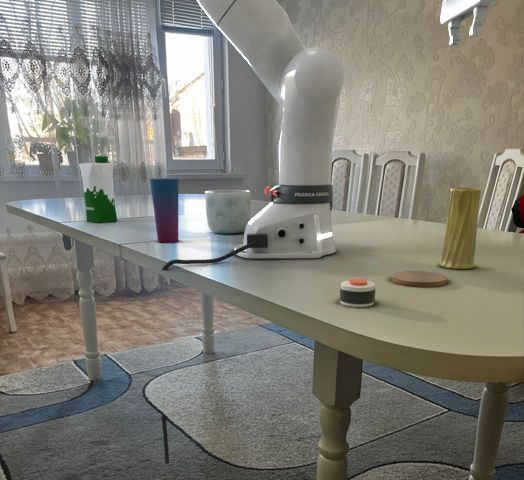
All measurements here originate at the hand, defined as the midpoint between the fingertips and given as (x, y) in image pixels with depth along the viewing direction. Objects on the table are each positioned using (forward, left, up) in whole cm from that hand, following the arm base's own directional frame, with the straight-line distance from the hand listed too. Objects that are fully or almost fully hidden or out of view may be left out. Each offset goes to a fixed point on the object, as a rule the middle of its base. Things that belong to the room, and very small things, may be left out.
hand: (464, 41), depth 108 cm
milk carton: (-80, +75, -42) cm, 117 cm away
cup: (-60, +26, -42) cm, 78 cm away
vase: (-7, -19, -42) cm, 46 cm away
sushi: (-35, -40, -41) cm, 68 cm away
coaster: (-20, -29, -41) cm, 54 cm away
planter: (-43, +39, -41) cm, 71 cm away
